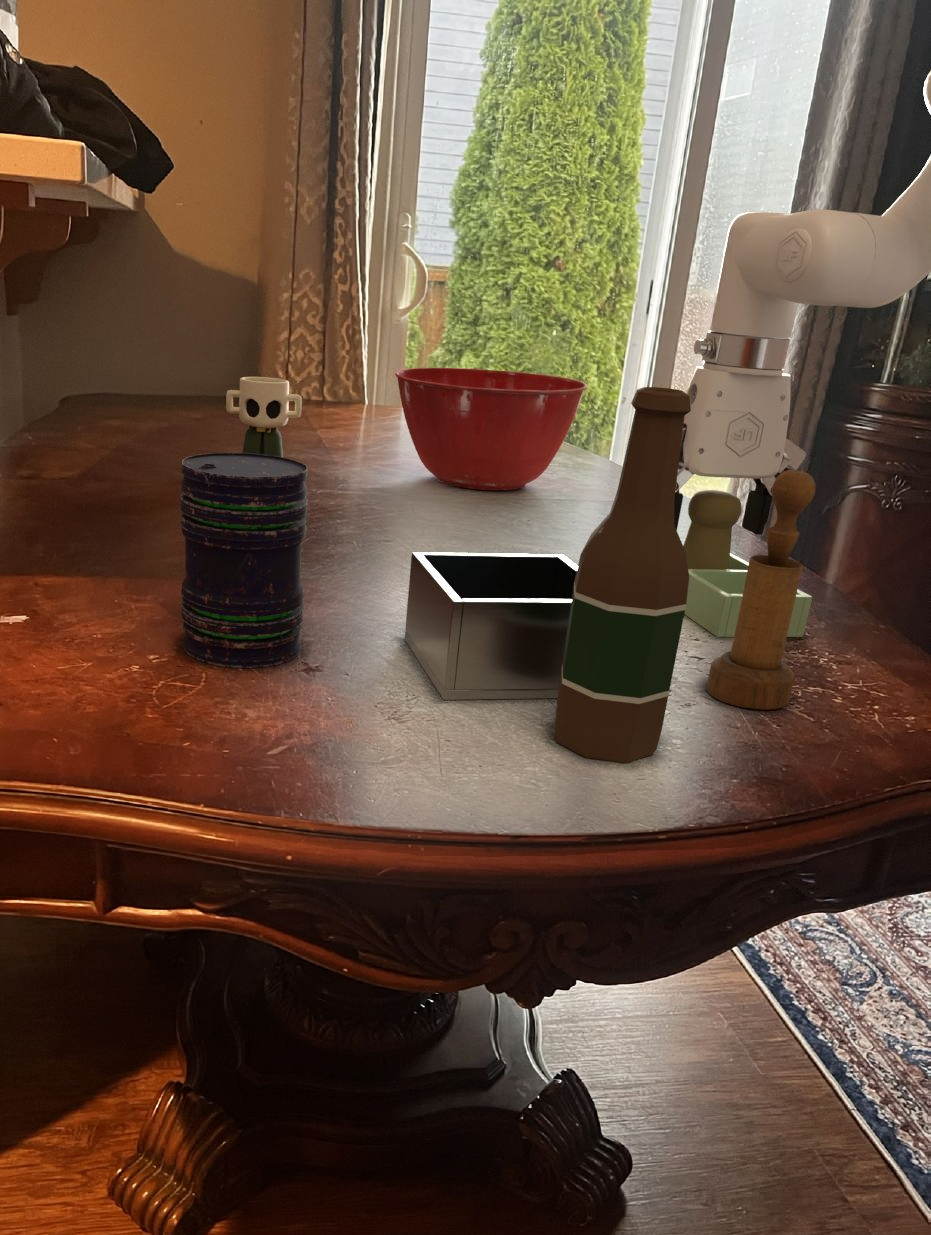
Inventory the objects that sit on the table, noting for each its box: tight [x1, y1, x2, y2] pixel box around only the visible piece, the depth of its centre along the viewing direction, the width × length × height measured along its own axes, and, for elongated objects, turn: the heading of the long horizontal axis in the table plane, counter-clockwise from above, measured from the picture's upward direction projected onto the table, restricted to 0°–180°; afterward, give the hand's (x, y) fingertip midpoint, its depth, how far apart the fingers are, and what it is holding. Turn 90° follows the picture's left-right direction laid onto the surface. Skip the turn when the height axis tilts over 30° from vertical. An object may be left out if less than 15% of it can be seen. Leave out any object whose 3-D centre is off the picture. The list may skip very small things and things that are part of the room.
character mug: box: [225, 376, 303, 458], centre depth 154 cm, size 11×7×13 cm, turn 93°
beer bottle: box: [554, 386, 691, 764], centre depth 70 cm, size 8×8×24 cm
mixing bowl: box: [394, 367, 588, 491], centre depth 158 cm, size 28×28×16 cm
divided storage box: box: [684, 552, 813, 638], centre depth 106 cm, size 9×17×4 cm, turn 12°
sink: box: [404, 551, 578, 701], centre depth 85 cm, size 14×14×8 cm
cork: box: [682, 489, 742, 570], centre depth 109 cm, size 6×6×11 cm
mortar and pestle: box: [705, 469, 816, 711], centre depth 81 cm, size 7×6×18 cm
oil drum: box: [179, 452, 309, 669], centre depth 84 cm, size 10×10×15 cm
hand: (709, 530), depth 108 cm, fingers open, 9 cm apart
